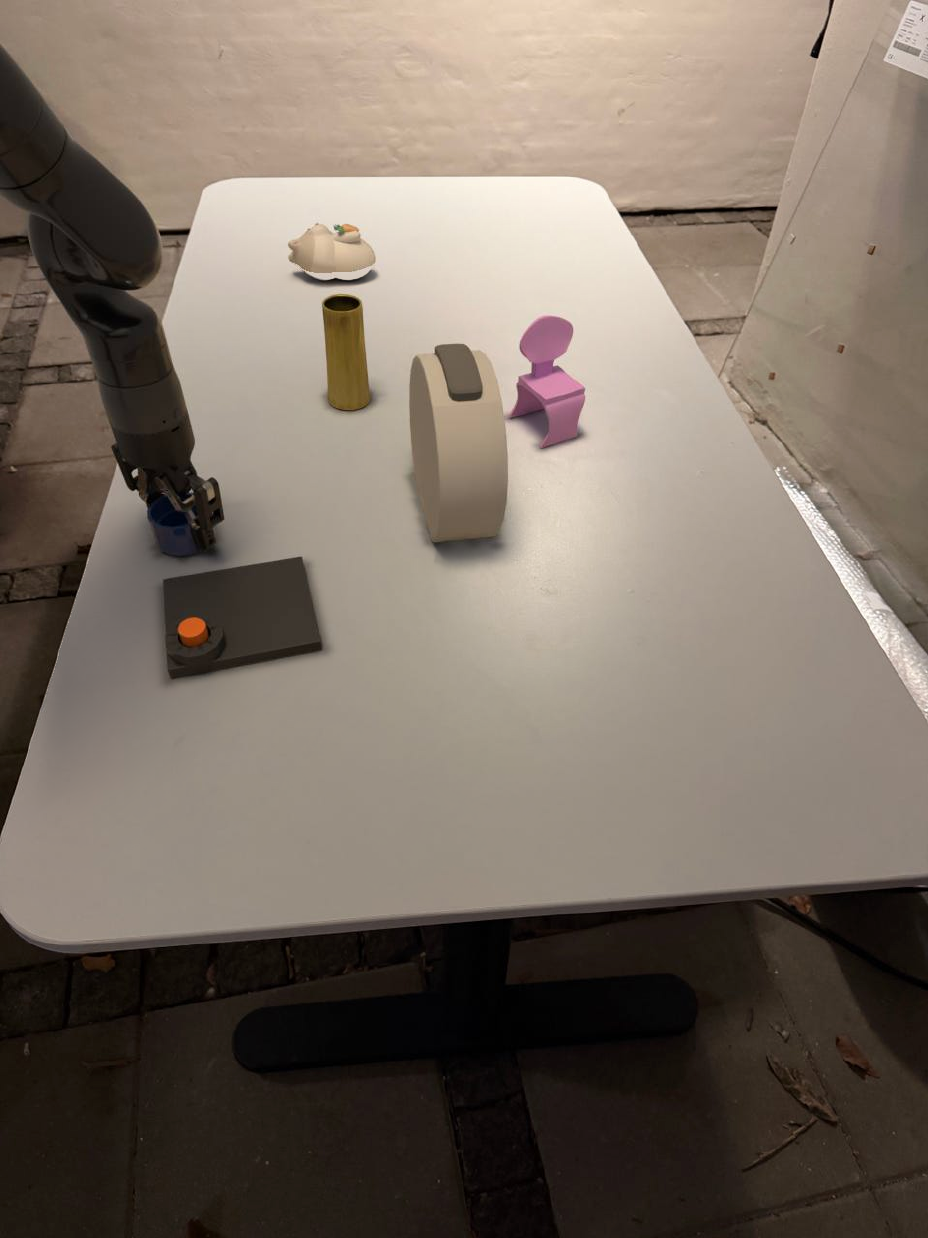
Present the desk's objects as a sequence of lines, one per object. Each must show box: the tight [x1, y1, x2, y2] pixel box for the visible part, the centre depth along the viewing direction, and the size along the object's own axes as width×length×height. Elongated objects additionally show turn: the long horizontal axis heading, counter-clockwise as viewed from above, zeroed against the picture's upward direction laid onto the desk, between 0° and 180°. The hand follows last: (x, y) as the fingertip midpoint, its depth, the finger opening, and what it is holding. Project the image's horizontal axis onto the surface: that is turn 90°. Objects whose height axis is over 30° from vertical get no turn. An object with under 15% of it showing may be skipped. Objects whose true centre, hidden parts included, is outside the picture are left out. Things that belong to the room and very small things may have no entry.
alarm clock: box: [408, 343, 509, 543], centre depth 89 cm, size 21×8×20 cm, turn 12°
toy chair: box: [507, 315, 586, 449], centre depth 103 cm, size 8×9×15 cm
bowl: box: [146, 491, 200, 557], centre depth 88 cm, size 6×6×4 cm
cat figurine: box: [287, 222, 376, 273], centre depth 134 cm, size 10×8×15 cm
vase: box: [321, 293, 372, 411], centre depth 106 cm, size 6×6×14 cm
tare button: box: [178, 618, 208, 647], centre depth 76 cm, size 3×3×2 cm
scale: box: [162, 556, 323, 679], centre depth 81 cm, size 15×13×3 cm
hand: (184, 534), depth 90 cm, fingers closed on bowl, 6 cm apart
